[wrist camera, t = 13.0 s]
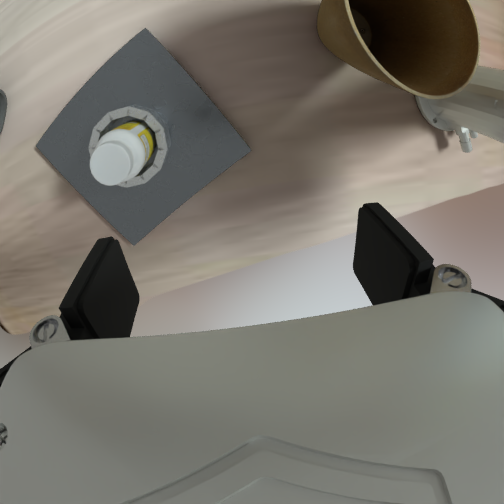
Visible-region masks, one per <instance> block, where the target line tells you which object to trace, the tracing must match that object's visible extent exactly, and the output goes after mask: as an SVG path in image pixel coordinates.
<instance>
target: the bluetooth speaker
mask: <svg viewBox="0 0 504 504" xmlns="http://www.w3.org/2000/svg"><path fill="white" fill-rule="evenodd" d="M6 109H7V98H6V95H5V93H4V92H3V91H2V90H1V89H0V133H1V131H2V128H3V125H4V120H5V115H6Z"/></svg>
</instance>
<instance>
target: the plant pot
mask: <svg viewBox="0 0 504 504" xmlns="http://www.w3.org/2000/svg"><path fill="white" fill-rule="evenodd" d="M361 29H363V30H364V31H361ZM317 30H318V34H319V37H320V39H321V41H322V43H323V44H324V45H325V46H326V47H327V48H328V49H329V50H330V51H331V52H332V53H333V54H334V55H335V56H337V57H338V58H340V59H341V60H343V61H344V62H346V63H347V64H349V65H351V66H352V67H354V68H356V69H358V70H360V71H362V72H363V73H365V74H367V75H369V76H372V77H374V78H376V79H378V80H380V81H383V82H385V83H387V84H390V85H392V86H395V87H397V88H400V89H402V90H405V91H407V92H410V93H412V94H414V95H417V96H420V97H423V98H428V99H445V98H449V97H451V96H454V95H456V94H458V93H459V92H460V91H462V90H463V89H464V88H465V87H466V86H467V85H468V84H469V82H470V81H471V79H472V78H473V76H474V74H475V71H476V69H477V65H478V62H479V56H480V34H479V29H478V24H477V21H476V18H475V14H474V11H473V9H472V7H471V4H470V2H469V0H322V1H321V4H320V8H319V12H318V17H317Z"/></svg>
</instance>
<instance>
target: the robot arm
mask: <svg viewBox="0 0 504 504" xmlns="http://www.w3.org/2000/svg"><path fill="white" fill-rule="evenodd" d="M415 97H416V102H417V104H418V107H419V109H420V111H421V113H422V115H423V116H424V118H425V119H426V120H427V121H428V122H429V123H430V124H431V125H432V126H434V127H435V128H438V129H440V130H444V131H453V130H455V133H456V135H458V136H459V139H460V144H461V148H462V151H463V152H467V153H468V152H471V151H472V145H471V141H470V138H469V136H468V133H469V132H470V136H471V138H477V137H478V135H477V133H480V134H482V135H485V136H487V137H490V138H492V139H495V140H497V141H499V142H502V143H504V70H502V69H497V68H491V67H485V66H478V65H477V69H476V71H475V74H474V76H473V78H472V79H471V81H470V82H469V84H468V85H467V86H466V87H465V88H464V89H463V90H462V91H460V92H459V93H458V94H456V95H454V96H451V97H449V98H445V99H428V98H423V97H420V96H417V95H415ZM433 260H434V259H433V258H432V257H431V256H430V255H429V253H427V251H426V250H425V249H424V248H423V247H422V246H421V245H420V244H419V243H418V242H417V241H416V239H415V238H414V237H413V236H412V235H411V234H410V233H409V232H408V231H407V230H406V229H405V228H404V227H403V226H402V225H401V224H400V223H399V222H398V221H397V220H396V219H395V218H394V217H393V216H392V215H391V214H390V213H389V212H388V211H387V210H386V209H385V208H383V207H382V206H381V205H380V204H379V203H378V202H377V203H366V204H364V205H363V207H362V208H360V209H359V212H358V224H357V234H356V244H355V253H354V261H353V270H354V273H355V275H356V276H357V278H358V280H359V282H360V283H361V285H362V287H363V288H364V290H365V292H366V294H367V296H368V297H369V299H370V301H371V303H372V305H373V306H368V307H364V308H358V309H353V310H347V311H342V312H337V313H332V314H325V315H319V316H313V317H307V318H301V319H294V320H288V321H281V322H274V323H268V324H260V325H253V326H245V327H237V328H229V329H220V330H211V331H202V332H191V333H180V334H168V335H156V336H142V337H130V334H131V330H132V326H133V322H134V318H135V315H136V311H137V307H138V304H139V293H138V290H137V288H136V286H135V283H134V281H133V278H132V276H131V273H130V271H129V268H128V265H127V263H126V260H125V257H124V255H123V252H122V249H121V247H120V244H119V241H118V240H114V238H113V237H107V238H101V239H98V240H97V242H96V243H95V245H94V247H93V248H92V250H91V251H90V253H89V255H88V256H87V258H86V260H85V261H84V263H83V265H82V266H81V268H80V270H79V272H78V273H77V275H76V277H75V279H74V280H73V282H72V284H71V286H70V288H69V289H68V291H67V293H66V295H65V297H64V299H63V301H62V303H61V305H60V307H59V310H60V311H61V315H60V317H58V316H56V315H51V316H47V317H45V318H43V319H41V320H40V321H39V322H37V323H36V325H35V326H34V327H33V328H32V330H31V332H30V336H29V337H30V344H31V347H29V348H28V349H27V350H25V351H24V352H23V353H21V354H20V355H19V356H17V357H16V358H15V359H13V360H12V361H11V362H9V363H8V364H7V365H5V366H4V367H3V368H1V369H0V504H504V301H503V300H500V299H497V298H495V297H492V296H490V295H487V294H484V293H482V292H479V291H476V290H474V289H471V279H470V277H469V275H468V274H467V273H466V272H465V271H464V270H462V269H461V268H459V267H457V266H454V265H450V264H442V265H439V266H437V267H436V268H435V267H434V265H433Z"/></svg>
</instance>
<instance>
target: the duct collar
mask: <svg viewBox="0 0 504 504" xmlns="http://www.w3.org/2000/svg"><path fill="white" fill-rule="evenodd" d="M129 121H141V122H144V123H146V124H147V125H149V126H150V127H151V129H152V130H153V132H154V134H155V137H156V146H155V149H154V152H153V154H152V155H151V157H150V158H149V160H148V161H147V162H146V164H145V165H144V167H143V168H142V169H141V171H140V172H139V173H138V174H137V175H136V176H135V177H134V178H132V179H131V180H128V181H126V182H121V183H119V184H117V185H113V186H108V185H104V184H101V183H100V182H98V181H97V180H96V179H95V178H94V176H93V175H92V173H91V170H90V158H91V156H92V153H93V152H94V150H95V147H96V145H97V143H98V141H99V140H100V139H101V137H102V136H104V135H105V134H106V133H108V132H109V131H111V130H113V129H115V128H117V127H118V126H120V125H122V124H124V123H126V122H129ZM36 147H37V148H38V149H39V150H40V151H41V152H42V154H43V155H44V156H45V157H46V158H47V159H48V160H49V161H50V162H51V163H52V165H53V166H54V167H55V168H56V169H57V170H58V171H59V172H60V173H61V174H62V175H63V176H64V177H65V178H66V180H67V181H68V182H69V183H70V184H71V185H72V186H73V187H74V188H75V189H76V190H77V191H78V192H79V193H80V194H81V195H82V196H83V197H84V198H85V199H86V200H87V201H88V202H89V203H90V204H91V205H92V206H93V207H94V208H95V209H96V210H97V211H98V212H99V213H100V214H101V215H102V216H103V217H104V218H105V219H106V220H107V221H108V222H109V223H110V224H111V225H112V226H113V227H114V228H115V229H116V230H118V231H119V232H120V233H121V234H122V235H123V236H124V237H125V238H126V239H127V240H128V241H129V242H130V243H131V244H132V245H136V244H137V243H138V242H139V241H140V240H141V239H142V238H143V237H145V236H146V235H147V234H148V233H149V232H150V231H151V230H152V229H154V228H155V227H156V226H157V225H158V224H159V223H161V222H162V221H163V220H164V219H165V218H166V217H168V216H169V215H170V214H171V213H172V212H174V211H175V210H176V209H177V208H178V207H180V206H181V205H182V204H183V203H184V202H186V201H187V200H188V199H189V198H191V197H192V196H193V195H194V194H196V193H197V192H198V191H199V190H201V189H202V188H203V187H204V186H206V185H207V184H208V183H209V182H211V181H212V180H213V179H214V178H216V177H217V176H218V175H220V174H221V173H222V172H224V171H225V170H226V169H227V168H229V167H230V166H231V165H233V164H234V163H235V162H237V161H238V160H239V159H241V158H242V157H243V156H245V155H246V154H248V153H249V152H250V151H251V149H250V148H249V146H248V145H247V144H246V143H245V141H244V140H243V139H242V138H241V136H240V135H239V134H238V133H237V131H236V130H235V129H234V128H233V126H232V125H231V124H230V123H229V122H228V120H227V119H226V118H225V117H224V115H223V114H222V113H221V112H220V111H219V109H218V108H217V107H216V106H215V105H214V103H213V102H212V101H211V100H210V99H209V97H208V96H207V95H206V94H205V93H204V92H203V90H202V89H201V88H200V87H199V86H198V85H197V83H196V82H195V81H194V80H193V79H192V78H191V77H190V75H189V74H188V73H187V72H186V71H185V70H184V69H183V68H182V66H181V65H180V64H179V63H178V62H177V61H176V60H175V59H174V58H173V56H172V55H171V54H170V53H169V52H168V51H167V50H166V49H165V48H164V47H163V46H162V45H161V43H160V42H159V41H158V40H157V39H156V38H155V37H154V36H153V35H152V34H151V33H150V32H149V31H148V30H147V29H146V28H145V29H143V30H142V31H141V32H140V33H138V34H137V35H136V36H135V37H134V38H133V39H131V40H130V41H129V42H128V43H127V44H126V45H124V46H123V47H122V48H121V49H120V50H119V51H118V52H117V53H116V54H115V55H114V56H112V57H111V58H110V59H109V60H108V61H107V62H106V63H105V64H104V65H103V66H102V67H101V68H100V69H99V70H98V71H97V72H96V73H95V74H94V75H93V76H92V77H91V78H90V79H89V81H88V82H87V83H86V84H85V85H84V86H83V87H82V88H81V89H80V90H79V91H78V93H77V94H76V95H75V96H74V97H73V98H72V99H71V101H70V102H69V103H68V104H67V105H66V107H65V108H64V109H63V110H62V112H61V113H60V114H59V115H58V117H57V118H56V119H55V120H54V122H53V123H52V124H51V126H50V127H49V128H48V130H47V131H46V132H45V134H44V135H43V136H42V138H41V139H40V141H39V142H38V144H37V145H36Z"/></svg>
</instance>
